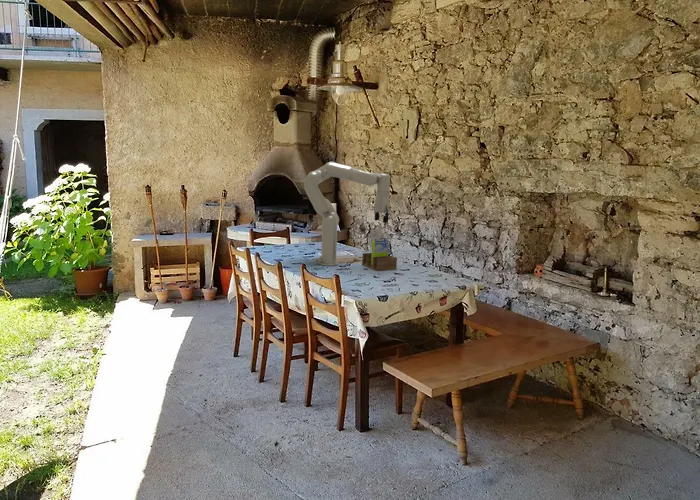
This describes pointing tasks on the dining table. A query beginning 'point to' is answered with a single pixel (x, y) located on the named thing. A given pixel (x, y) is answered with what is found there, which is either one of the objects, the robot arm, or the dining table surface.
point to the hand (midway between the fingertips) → (381, 221)
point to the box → (379, 248)
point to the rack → (379, 262)
